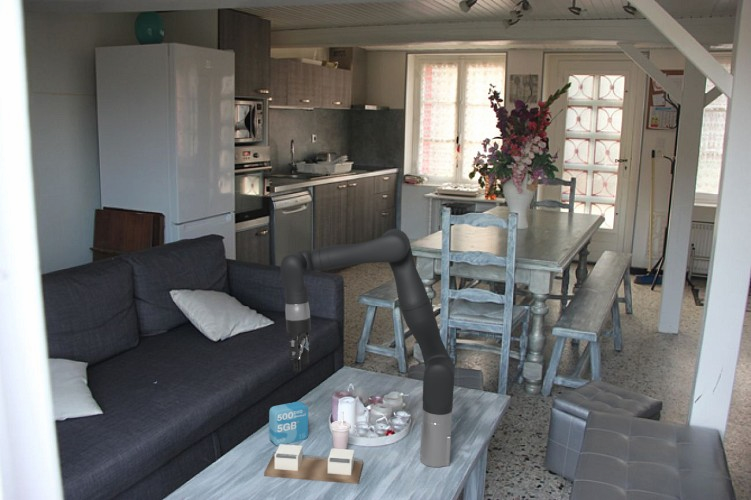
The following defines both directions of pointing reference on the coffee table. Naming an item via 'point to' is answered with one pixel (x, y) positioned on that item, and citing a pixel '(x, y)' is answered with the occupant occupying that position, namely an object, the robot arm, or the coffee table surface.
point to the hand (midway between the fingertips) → (301, 367)
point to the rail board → (314, 465)
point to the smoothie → (340, 433)
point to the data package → (288, 423)
